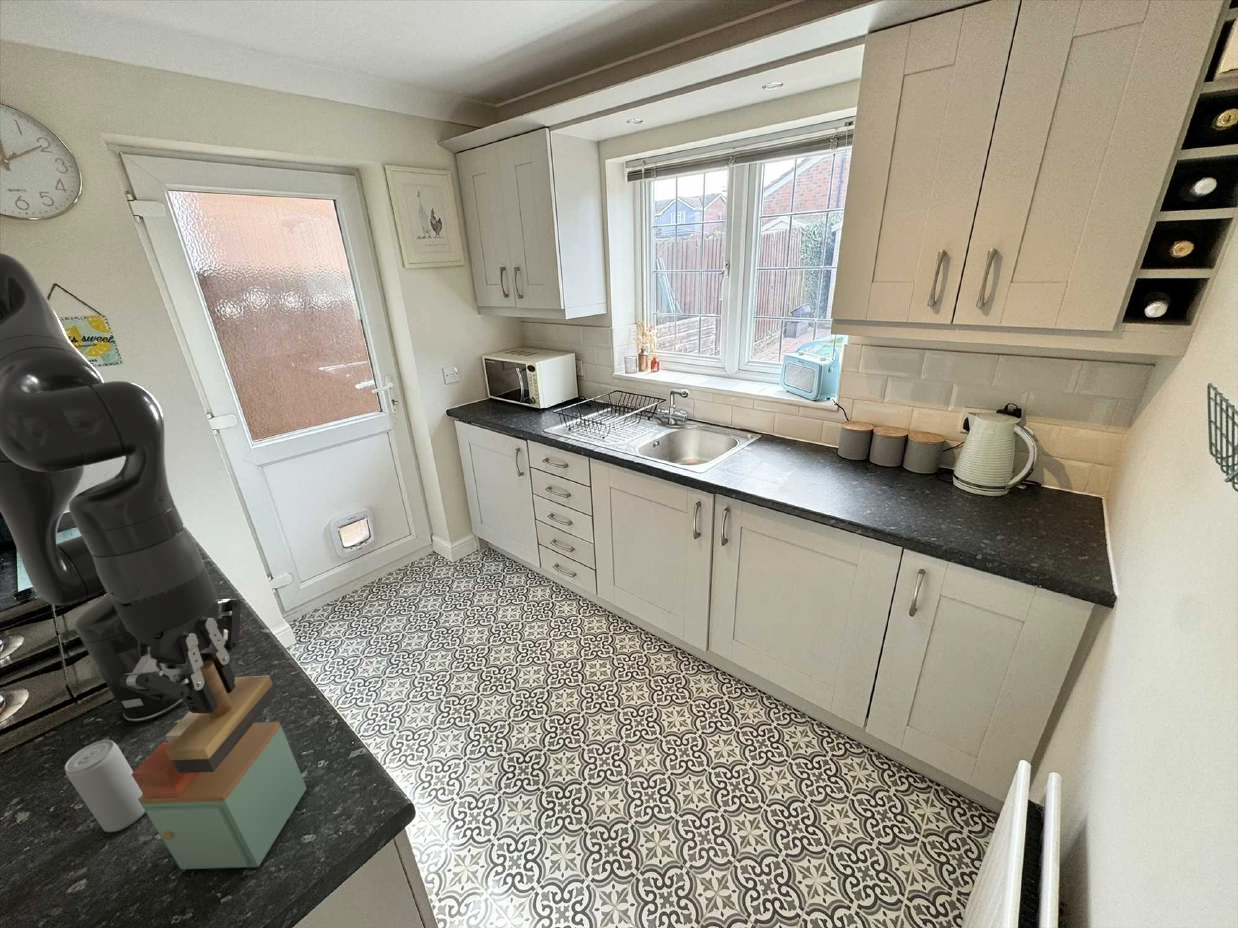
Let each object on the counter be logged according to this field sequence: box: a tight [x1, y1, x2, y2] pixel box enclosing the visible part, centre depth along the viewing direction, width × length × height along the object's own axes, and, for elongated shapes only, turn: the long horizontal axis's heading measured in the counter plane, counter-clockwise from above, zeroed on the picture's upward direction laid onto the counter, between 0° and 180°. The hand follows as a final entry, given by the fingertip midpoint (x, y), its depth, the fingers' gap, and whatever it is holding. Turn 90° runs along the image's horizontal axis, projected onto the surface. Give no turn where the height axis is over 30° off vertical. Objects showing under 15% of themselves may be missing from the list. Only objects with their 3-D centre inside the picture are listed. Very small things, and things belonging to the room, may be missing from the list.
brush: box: [165, 661, 277, 773], centre depth 56 cm, size 4×10×10 cm, turn 0°
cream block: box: [165, 710, 201, 743], centre depth 61 cm, size 4×4×4 cm
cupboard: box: [138, 721, 308, 870], centre depth 62 cm, size 11×10×13 cm
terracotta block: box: [132, 742, 200, 798], centre depth 57 cm, size 4×4×4 cm
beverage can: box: [64, 739, 146, 833], centre depth 65 cm, size 5×5×12 cm
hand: (216, 700), depth 56 cm, fingers closed on brush, 2 cm apart
